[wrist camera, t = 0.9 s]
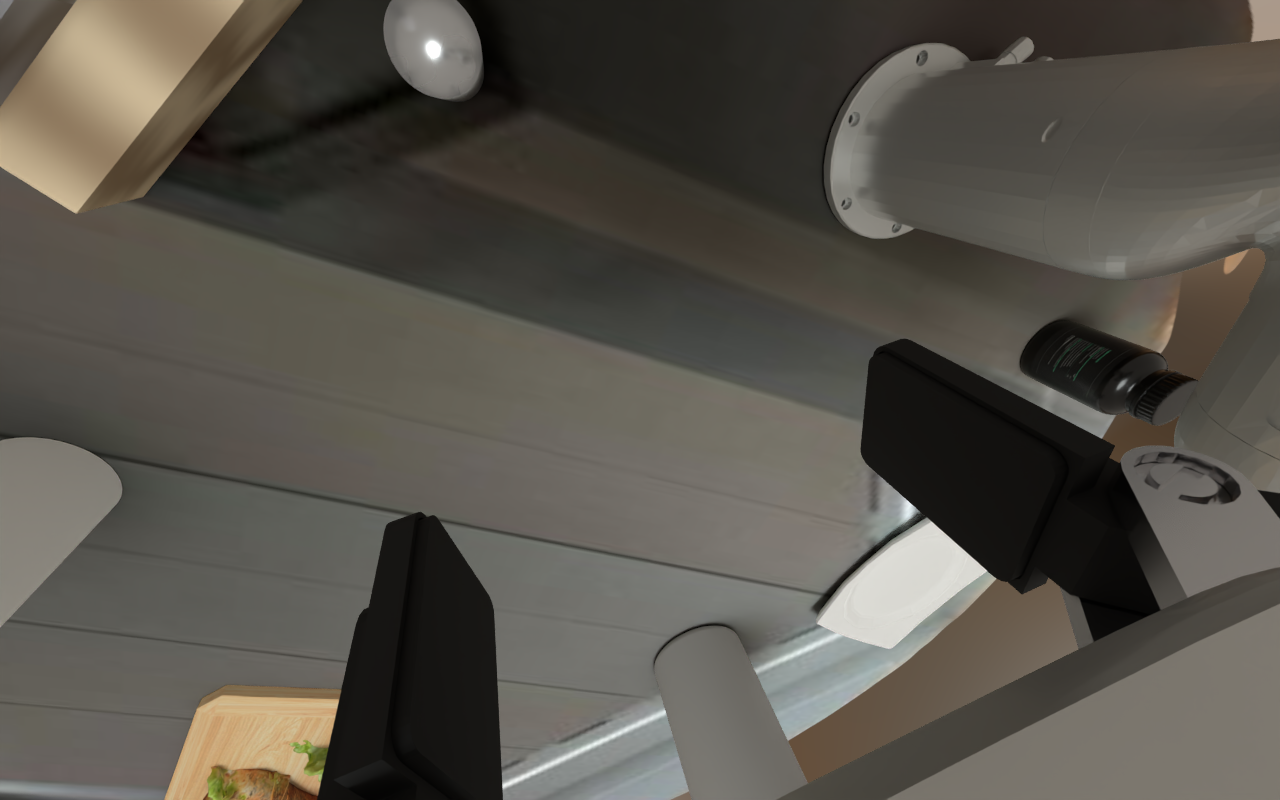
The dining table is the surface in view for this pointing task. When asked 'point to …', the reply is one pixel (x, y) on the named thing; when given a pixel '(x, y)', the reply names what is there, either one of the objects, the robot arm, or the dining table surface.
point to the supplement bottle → (1106, 372)
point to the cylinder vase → (723, 720)
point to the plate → (899, 586)
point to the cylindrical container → (46, 510)
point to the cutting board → (256, 744)
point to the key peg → (435, 47)
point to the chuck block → (117, 87)
